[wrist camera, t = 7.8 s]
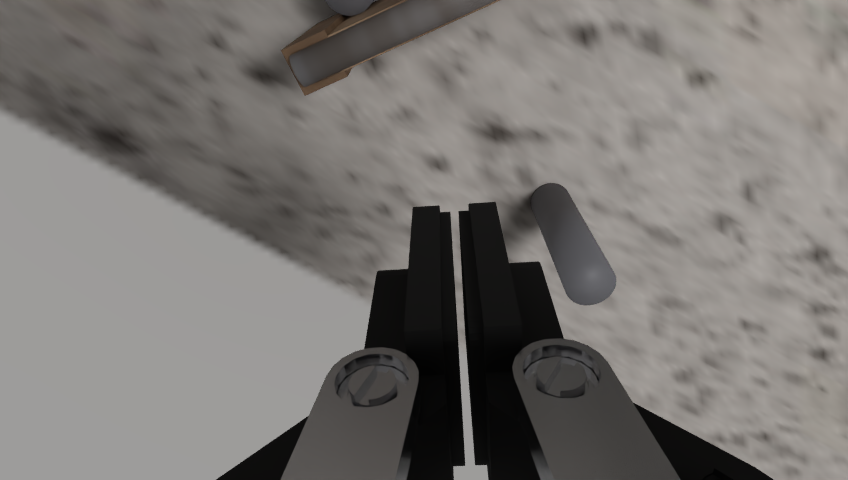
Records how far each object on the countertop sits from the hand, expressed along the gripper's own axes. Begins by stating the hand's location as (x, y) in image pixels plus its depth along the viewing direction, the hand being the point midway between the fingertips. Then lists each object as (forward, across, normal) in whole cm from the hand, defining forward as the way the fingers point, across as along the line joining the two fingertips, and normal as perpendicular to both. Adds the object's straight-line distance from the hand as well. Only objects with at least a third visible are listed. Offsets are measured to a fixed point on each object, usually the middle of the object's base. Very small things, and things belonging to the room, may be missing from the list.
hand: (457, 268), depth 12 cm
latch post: (+16, -5, +7) cm, 19 cm away
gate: (+16, 0, -4) cm, 17 cm away
